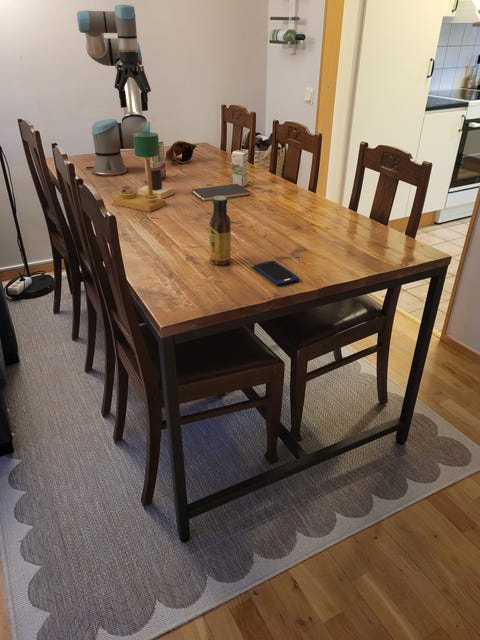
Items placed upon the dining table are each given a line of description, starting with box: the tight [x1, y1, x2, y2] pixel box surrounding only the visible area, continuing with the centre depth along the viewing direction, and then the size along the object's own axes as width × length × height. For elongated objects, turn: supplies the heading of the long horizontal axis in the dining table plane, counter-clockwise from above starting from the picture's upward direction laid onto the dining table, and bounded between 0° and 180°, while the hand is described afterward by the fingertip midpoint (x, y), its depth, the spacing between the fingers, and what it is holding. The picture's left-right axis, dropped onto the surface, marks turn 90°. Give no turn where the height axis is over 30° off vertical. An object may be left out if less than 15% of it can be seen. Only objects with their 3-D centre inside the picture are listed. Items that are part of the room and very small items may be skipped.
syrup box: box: [231, 149, 249, 188], centre depth 212 cm, size 6×6×14 cm
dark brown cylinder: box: [151, 167, 163, 190], centre depth 199 cm, size 6×6×8 cm
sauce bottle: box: [208, 196, 232, 266], centre depth 140 cm, size 7×6×20 cm
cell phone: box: [252, 260, 300, 286], centre depth 138 cm, size 7×14×1 cm, turn 30°
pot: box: [165, 140, 199, 164], centre depth 251 cm, size 17×11×18 cm
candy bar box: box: [143, 140, 167, 183], centre depth 217 cm, size 11×5×16 cm, turn 161°
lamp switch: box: [121, 185, 133, 194], centre depth 191 cm, size 4×4×2 cm
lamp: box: [133, 131, 160, 199], centre depth 180 cm, size 9×9×23 cm
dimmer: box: [136, 184, 175, 199], centre depth 201 cm, size 12×10×3 cm
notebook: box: [191, 183, 250, 202], centre depth 203 cm, size 13×2×21 cm
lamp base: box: [113, 189, 167, 213], centre depth 190 cm, size 18×10×4 cm, turn 60°
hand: (134, 109), depth 201 cm, fingers open, 13 cm apart
